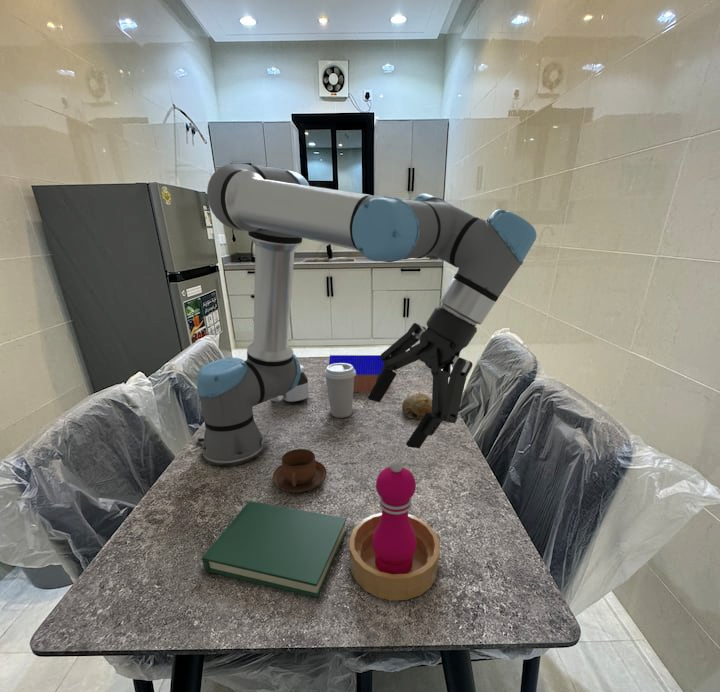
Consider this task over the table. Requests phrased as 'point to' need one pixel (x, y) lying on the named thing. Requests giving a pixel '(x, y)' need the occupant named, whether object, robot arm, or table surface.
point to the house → (361, 369)
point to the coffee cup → (340, 388)
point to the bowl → (394, 584)
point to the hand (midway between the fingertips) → (391, 421)
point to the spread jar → (297, 391)
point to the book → (278, 548)
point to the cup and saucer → (299, 471)
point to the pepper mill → (394, 521)
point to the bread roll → (417, 406)
